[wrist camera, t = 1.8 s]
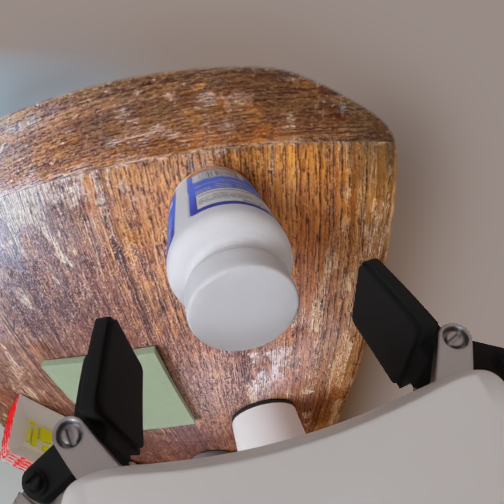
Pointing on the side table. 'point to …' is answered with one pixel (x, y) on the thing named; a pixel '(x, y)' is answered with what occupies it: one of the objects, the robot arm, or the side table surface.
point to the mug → (266, 424)
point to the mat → (154, 388)
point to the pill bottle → (229, 261)
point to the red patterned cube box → (27, 432)
